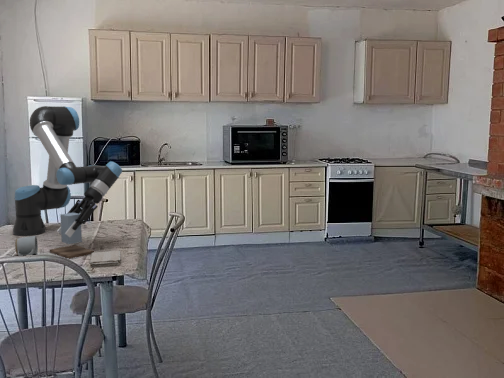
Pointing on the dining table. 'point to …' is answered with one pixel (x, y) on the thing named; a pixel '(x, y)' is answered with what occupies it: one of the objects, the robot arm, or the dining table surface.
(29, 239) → the ceramic mug
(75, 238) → the slate block
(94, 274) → the dining table surface
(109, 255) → the washcloth
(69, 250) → the walnut board
